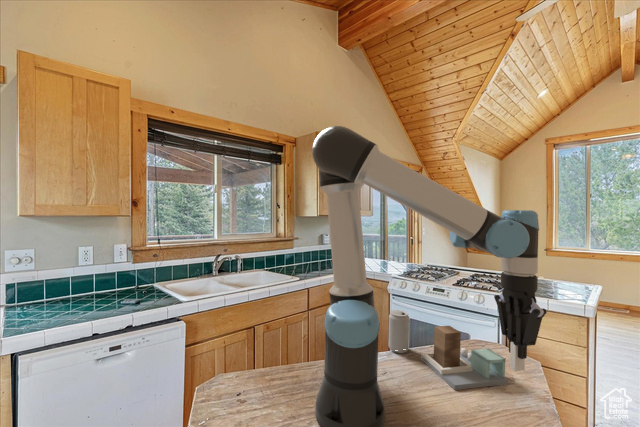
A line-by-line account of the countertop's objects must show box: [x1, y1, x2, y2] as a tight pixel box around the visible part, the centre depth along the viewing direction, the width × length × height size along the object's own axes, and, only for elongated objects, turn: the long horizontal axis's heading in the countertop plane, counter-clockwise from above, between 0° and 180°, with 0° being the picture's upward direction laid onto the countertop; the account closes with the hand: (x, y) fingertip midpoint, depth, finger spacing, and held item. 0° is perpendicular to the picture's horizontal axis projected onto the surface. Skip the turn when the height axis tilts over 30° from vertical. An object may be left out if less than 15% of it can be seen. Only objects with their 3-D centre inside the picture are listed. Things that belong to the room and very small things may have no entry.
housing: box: [470, 348, 506, 379], centre depth 83 cm, size 6×6×5 cm
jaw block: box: [433, 325, 462, 368], centre depth 87 cm, size 5×5×10 cm
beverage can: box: [387, 309, 410, 354], centre depth 98 cm, size 6×6×12 cm
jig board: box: [420, 347, 509, 391], centre depth 86 cm, size 16×16×3 cm
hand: (517, 369), depth 74 cm, fingers closed
